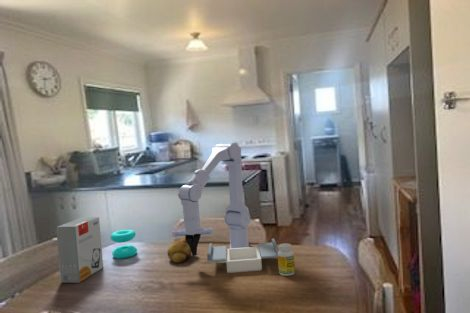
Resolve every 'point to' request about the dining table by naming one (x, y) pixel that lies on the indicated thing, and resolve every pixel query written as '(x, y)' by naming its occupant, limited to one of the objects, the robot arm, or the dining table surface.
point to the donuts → (123, 250)
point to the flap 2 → (268, 249)
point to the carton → (243, 259)
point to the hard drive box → (79, 249)
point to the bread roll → (179, 251)
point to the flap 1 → (216, 253)
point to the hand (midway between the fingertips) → (194, 254)
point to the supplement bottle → (286, 260)
